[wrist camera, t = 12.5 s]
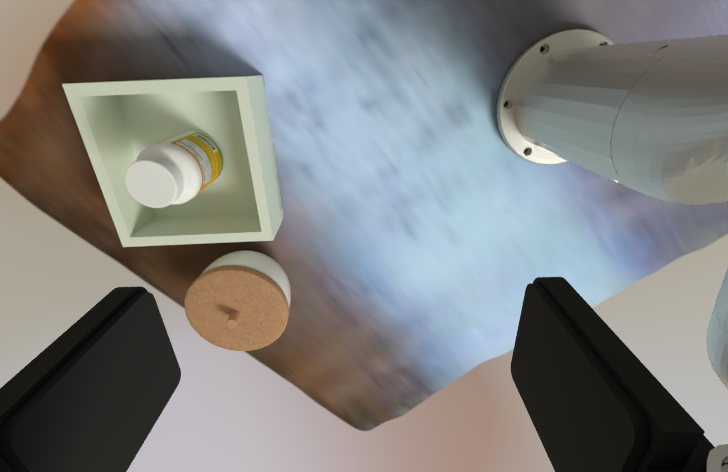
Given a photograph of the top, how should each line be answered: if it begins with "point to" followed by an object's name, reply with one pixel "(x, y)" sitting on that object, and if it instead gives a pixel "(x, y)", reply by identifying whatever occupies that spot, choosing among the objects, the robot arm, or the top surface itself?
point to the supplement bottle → (174, 169)
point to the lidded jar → (240, 301)
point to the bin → (167, 119)
